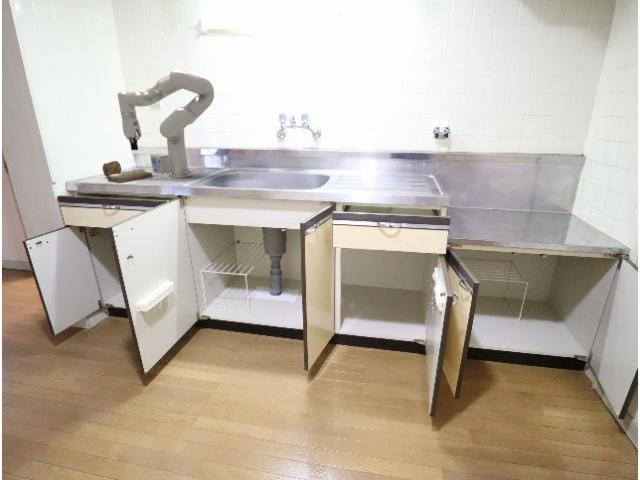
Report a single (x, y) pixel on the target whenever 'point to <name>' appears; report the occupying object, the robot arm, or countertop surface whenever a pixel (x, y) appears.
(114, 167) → the tin
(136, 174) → the button board
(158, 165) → the light bulb box
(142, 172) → the end button
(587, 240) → the countertop surface
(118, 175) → the end button
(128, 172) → the middle button
